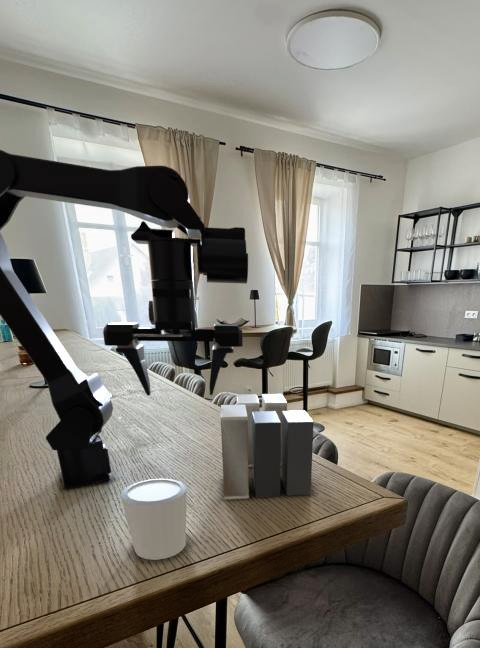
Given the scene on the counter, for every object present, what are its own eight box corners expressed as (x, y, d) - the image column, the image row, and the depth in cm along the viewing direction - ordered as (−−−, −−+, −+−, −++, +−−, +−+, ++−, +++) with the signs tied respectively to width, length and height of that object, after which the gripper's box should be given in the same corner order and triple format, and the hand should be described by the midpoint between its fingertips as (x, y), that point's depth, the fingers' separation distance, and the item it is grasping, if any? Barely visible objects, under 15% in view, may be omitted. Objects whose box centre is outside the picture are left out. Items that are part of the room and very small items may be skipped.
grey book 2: (287, 495, 59) (288, 422, 55) (281, 478, 65) (282, 410, 61) (310, 494, 60) (313, 421, 56) (302, 477, 66) (305, 410, 62)
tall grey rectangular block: (255, 497, 59) (255, 423, 55) (252, 479, 65) (251, 411, 61) (280, 496, 59) (280, 422, 55) (275, 478, 65) (275, 411, 61)
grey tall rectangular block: (239, 467, 70) (237, 403, 66) (238, 453, 76) (236, 394, 72) (260, 466, 70) (259, 403, 66) (256, 452, 76) (256, 394, 72)
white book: (265, 466, 70) (265, 402, 66) (262, 452, 77) (261, 394, 73) (286, 465, 71) (287, 402, 67) (280, 452, 77) (281, 393, 73)
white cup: (202, 536, 49) (198, 482, 46) (169, 568, 43) (163, 508, 40) (153, 526, 51) (146, 474, 48) (115, 555, 45) (106, 498, 42)
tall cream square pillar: (224, 499, 58) (220, 417, 54) (224, 480, 64) (220, 404, 60) (249, 498, 58) (247, 416, 54) (246, 479, 65) (244, 404, 60)
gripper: (238, 285, 65) (239, 384, 71) (114, 282, 62) (126, 385, 68) (242, 282, 55) (243, 398, 61) (94, 278, 52) (110, 399, 58)
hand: (180, 394), depth 62 cm, fingers open, 9 cm apart
